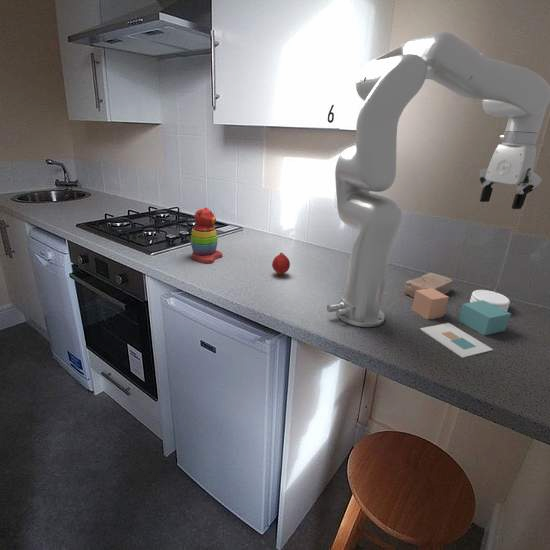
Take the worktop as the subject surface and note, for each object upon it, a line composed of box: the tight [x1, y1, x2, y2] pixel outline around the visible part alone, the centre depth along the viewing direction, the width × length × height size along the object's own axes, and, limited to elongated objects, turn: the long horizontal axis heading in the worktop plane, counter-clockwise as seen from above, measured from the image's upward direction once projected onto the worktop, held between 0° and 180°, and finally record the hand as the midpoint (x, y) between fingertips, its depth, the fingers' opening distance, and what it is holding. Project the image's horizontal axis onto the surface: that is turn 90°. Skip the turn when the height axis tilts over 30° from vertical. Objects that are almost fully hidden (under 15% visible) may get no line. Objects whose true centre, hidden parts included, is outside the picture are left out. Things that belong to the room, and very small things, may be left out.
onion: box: [271, 251, 291, 276], centre depth 118 cm, size 6×6×8 cm
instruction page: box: [419, 322, 494, 359], centre depth 88 cm, size 10×13×1 cm
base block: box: [457, 300, 512, 336], centre depth 95 cm, size 8×8×5 cm
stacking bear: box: [190, 207, 224, 265], centre depth 127 cm, size 11×10×18 cm
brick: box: [403, 272, 453, 298], centre depth 113 cm, size 17×8×5 cm, turn 133°
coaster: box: [469, 289, 511, 312], centre depth 107 cm, size 10×10×4 cm
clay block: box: [410, 288, 450, 320], centre depth 99 cm, size 6×6×6 cm
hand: (499, 205), depth 101 cm, fingers open, 9 cm apart
